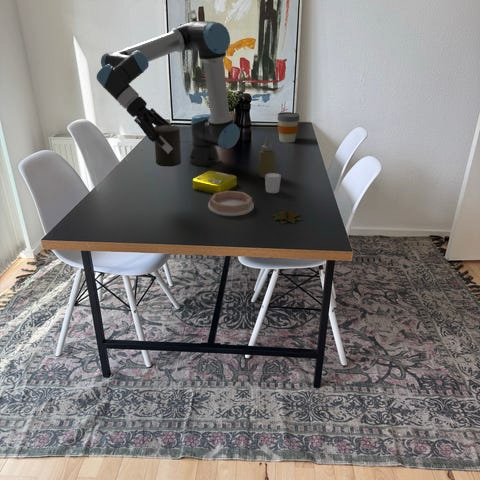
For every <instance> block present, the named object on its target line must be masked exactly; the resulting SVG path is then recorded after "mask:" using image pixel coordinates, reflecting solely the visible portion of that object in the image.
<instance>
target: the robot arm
mask: <svg viewBox="0 0 480 480" xmlns="http://www.w3.org/2000/svg"><path fill="white" fill-rule="evenodd" d="M230 44H231V36H230V32H229V30H228V28H227V27H226V26H225V25H224V24H223V23H220V22H216V21H208V20H207V21H205V20H204V21H203V20H194V21H191V22H186V23H185V24H181V25H179V26H176V27H174V28H171V29H170V30H169V32H168V33H164V34H162V35H160V36H157V37H153V38H151V39H149V40H146V41H143V42H140V43H138V44H135V45H132V46H130V47H126V48H124V49H122V50H118V51H115V52H111V51H110V52H105V53H104V54H103V55H102V56H101V59H100V64H101V69H99V70H98V72H97V73H96V80H97V82H98V83H99V85H100V86H102V87H103V89H104V90H106V91H107V92H108V93H109V94H110V95H111V96H112V98H113V99H115V101H117V102H118V103H119V106H121V107H122V108H123V109H126V112H127V113H128V114H129V115H130V116H131V117H132V118H134V120H133V121H134V123H136V125H138V127H139V128H140V129H141V131H142V132H143V133H144V134H145V135H146V137H147V138H148V140H149V141H151V142H152V143H155V141H156V142H157V143H158V144H159V145H160V146H161V147H162V148H163V149H164V150H165V151H166V152H167V153H169V152H170V151H171V150H172V149H173V148H172V147H171V146H170V145H169V144H168V143H167V142H166V141H165V140H164V138H163V137H162V136H159V135H158V133H157V131H156V130H155V127H157V126H162V125H172V124H171V123H169V121H167V120H166V119H165V118H163V117H162V116H161V115H160V114H159V113H158V112H156V110H155V109H154V108H152V107H151V108H150V109H149V108H147V104H148V103H147V101H146V100H144V98H143V97H142V96H140V94H139V92H137V91H136V90H135V88H133V87H132V86H131V85H130V84H131V83H132V82H133V81H134V80H135V79H137V78H138V77H140V76H141V75H142V74H144V73H145V71H147V69H148V68H149V66H150V65H149V62H151V61H155V60H157V59H159V58H161V57H164V56H167V55H169V54H173V53H175V52H178V53H181V52H184V51H197V53H198V59H199V60H201V61H202V64H203V68H204V69H203V70H204V78H205V83H206V91H207V97H208V105H209V113H204V114H197V115H194V116H192V118H191V122H190V123H191V124H190V125H191V142H192V143H191V145H192V146H191V150H190V153H189V154H190V155H189V157H188V159H189V161H188V162H189V163H190V164H191V165H194V166H200V167H210V166H214V165H217V164H218V163H220V154H219V152H218V151H219V150H218V149H217V148H218V147H219V148H220V149H231V148H232V147H234V146H235V145H236V144H237V142H238V141H239V139H240V134H241V131H240V127H239V126H237V124H236V123H235V122H234V117H233V115H232V114H230V109H229V100H228V99H229V98H228V92H227V90H228V89H227V81H226V74H225V73H226V72H225V64H224V59H225V58H226V56H227V51H228V50H229V46H230ZM181 143H183V140H182V139H181V138H180V144H181Z"/></svg>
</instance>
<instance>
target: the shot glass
mask: <svg viewBox="0 0 480 480" xmlns="http://www.w3.org/2000/svg"><path fill="white" fill-rule="evenodd" d="M281 178H282V174H280V173H276V172H274V173H268V174H265V178H264V180H265V181H264V183H265V191H266V193H269V194H276V193H279V192H280V185H281Z"/></svg>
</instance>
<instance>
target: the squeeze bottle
mask: <svg viewBox="0 0 480 480" xmlns="http://www.w3.org/2000/svg"><path fill="white" fill-rule="evenodd" d="M275 171H276V167H275V151H274V150H273V146H272V145H271V144H270V139H269V137H265V141H264V144H263V145H261V150H259V154H258V162H257V173H258V175H259V177H260V178H262V179H265V174H268V173H275Z"/></svg>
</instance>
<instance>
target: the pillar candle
mask: <svg viewBox="0 0 480 480" xmlns="http://www.w3.org/2000/svg"><path fill="white" fill-rule="evenodd" d="M154 128H155V130H156V131H157V133H158V135H159V136H162V137H163V138H164V140H165V141H166V142H167V143H168V144H169V145H170V146H171V147H172V148H173V149H172V150H171V151H170V152H169V153H167V152H166V151H165V150H164V149H163V148H162V147H161V146H160V145H159V144H158V143H157V142H156V141H154V153H155V164H156V165H158V166H159V167H170V168H171V167H177V166H180V165H181V163H182V155H181V153H182V152H181V143H180V139H181V134H180V133H181V132H180V126H178V125H172V124H171V125H162V126H154Z"/></svg>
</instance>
